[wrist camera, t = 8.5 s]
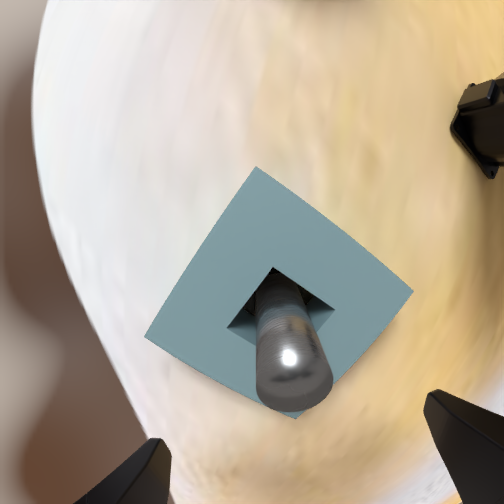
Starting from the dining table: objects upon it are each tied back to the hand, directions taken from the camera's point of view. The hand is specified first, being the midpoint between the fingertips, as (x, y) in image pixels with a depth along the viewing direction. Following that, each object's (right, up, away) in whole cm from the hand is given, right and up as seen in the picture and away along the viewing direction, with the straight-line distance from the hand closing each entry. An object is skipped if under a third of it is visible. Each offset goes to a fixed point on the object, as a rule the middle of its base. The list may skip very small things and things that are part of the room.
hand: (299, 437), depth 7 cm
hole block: (0, +3, +12) cm, 13 cm away
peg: (0, +3, +12) cm, 13 cm away
